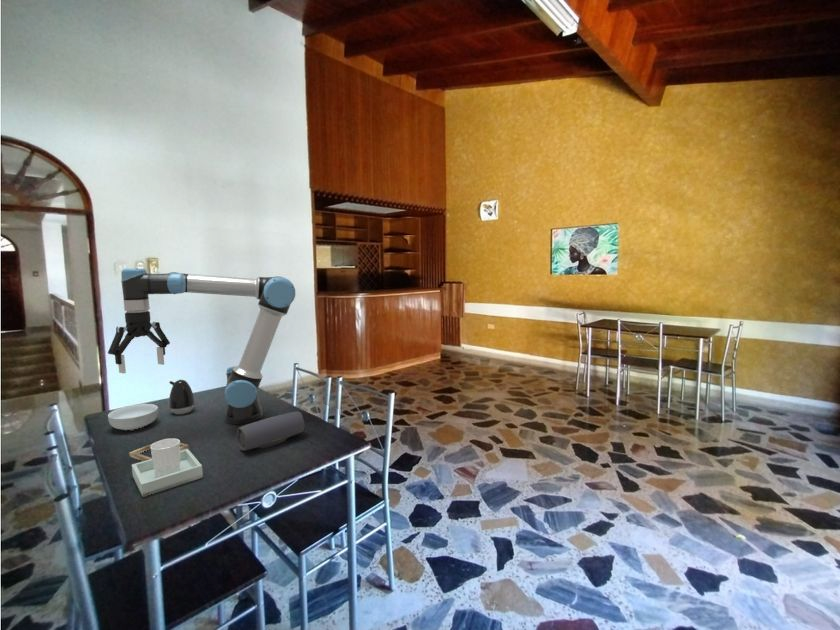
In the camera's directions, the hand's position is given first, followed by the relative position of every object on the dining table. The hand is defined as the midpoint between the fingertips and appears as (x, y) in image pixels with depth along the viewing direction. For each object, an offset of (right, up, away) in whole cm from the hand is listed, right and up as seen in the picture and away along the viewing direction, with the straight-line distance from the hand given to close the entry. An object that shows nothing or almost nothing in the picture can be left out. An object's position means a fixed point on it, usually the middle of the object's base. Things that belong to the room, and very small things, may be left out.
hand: (142, 368), depth 151 cm
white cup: (+22, -31, -21) cm, 43 cm away
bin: (+22, -32, -21) cm, 44 cm away
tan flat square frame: (+9, -30, -5) cm, 31 cm away
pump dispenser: (-5, -25, +34) cm, 43 cm away
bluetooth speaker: (+47, -29, +3) cm, 55 cm away
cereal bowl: (-16, -27, +18) cm, 36 cm away
